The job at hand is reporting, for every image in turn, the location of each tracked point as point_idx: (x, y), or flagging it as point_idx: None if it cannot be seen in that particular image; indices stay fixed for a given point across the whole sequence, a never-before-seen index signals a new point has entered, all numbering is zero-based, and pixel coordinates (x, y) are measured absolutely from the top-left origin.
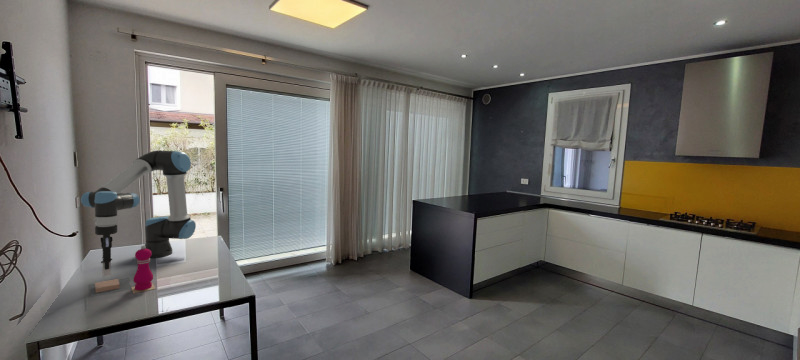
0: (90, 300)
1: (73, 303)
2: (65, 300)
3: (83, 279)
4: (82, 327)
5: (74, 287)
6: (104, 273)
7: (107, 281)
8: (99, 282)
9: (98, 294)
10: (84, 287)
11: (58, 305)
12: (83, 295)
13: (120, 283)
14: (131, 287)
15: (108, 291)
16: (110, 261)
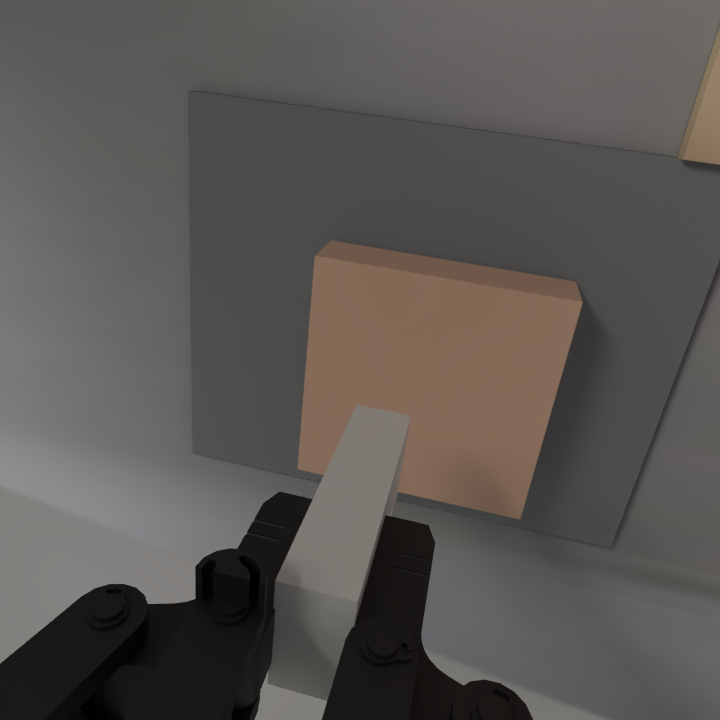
0: (697, 557)
1: (642, 646)
2: (497, 652)
3: None
4: None
5: (179, 530)
6: (392, 511)
7: (341, 373)
8: (317, 438)
9: (595, 480)
10: (232, 485)
11: (585, 706)
12: (476, 549)
13: (366, 220)
14: (708, 161)
15: (578, 391)
16: (352, 604)
